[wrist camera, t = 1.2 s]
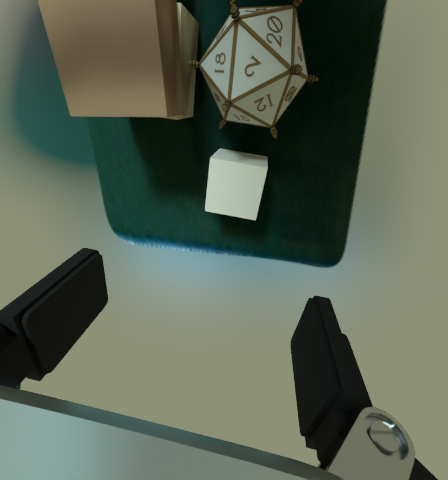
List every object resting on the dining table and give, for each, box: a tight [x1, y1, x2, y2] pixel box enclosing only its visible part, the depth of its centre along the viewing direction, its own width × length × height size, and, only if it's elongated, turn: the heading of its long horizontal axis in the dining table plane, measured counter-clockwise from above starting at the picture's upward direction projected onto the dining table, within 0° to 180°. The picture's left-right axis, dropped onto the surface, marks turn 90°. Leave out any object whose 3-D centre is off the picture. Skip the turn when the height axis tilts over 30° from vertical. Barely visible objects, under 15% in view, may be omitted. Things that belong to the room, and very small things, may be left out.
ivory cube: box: [205, 149, 268, 220], centre depth 24 cm, size 5×5×5 cm
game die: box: [187, 0, 319, 138], centre depth 18 cm, size 9×8×10 cm
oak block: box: [163, 2, 199, 120], centre depth 20 cm, size 7×7×5 cm
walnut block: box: [38, 0, 185, 117], centre depth 16 cm, size 7×7×4 cm
